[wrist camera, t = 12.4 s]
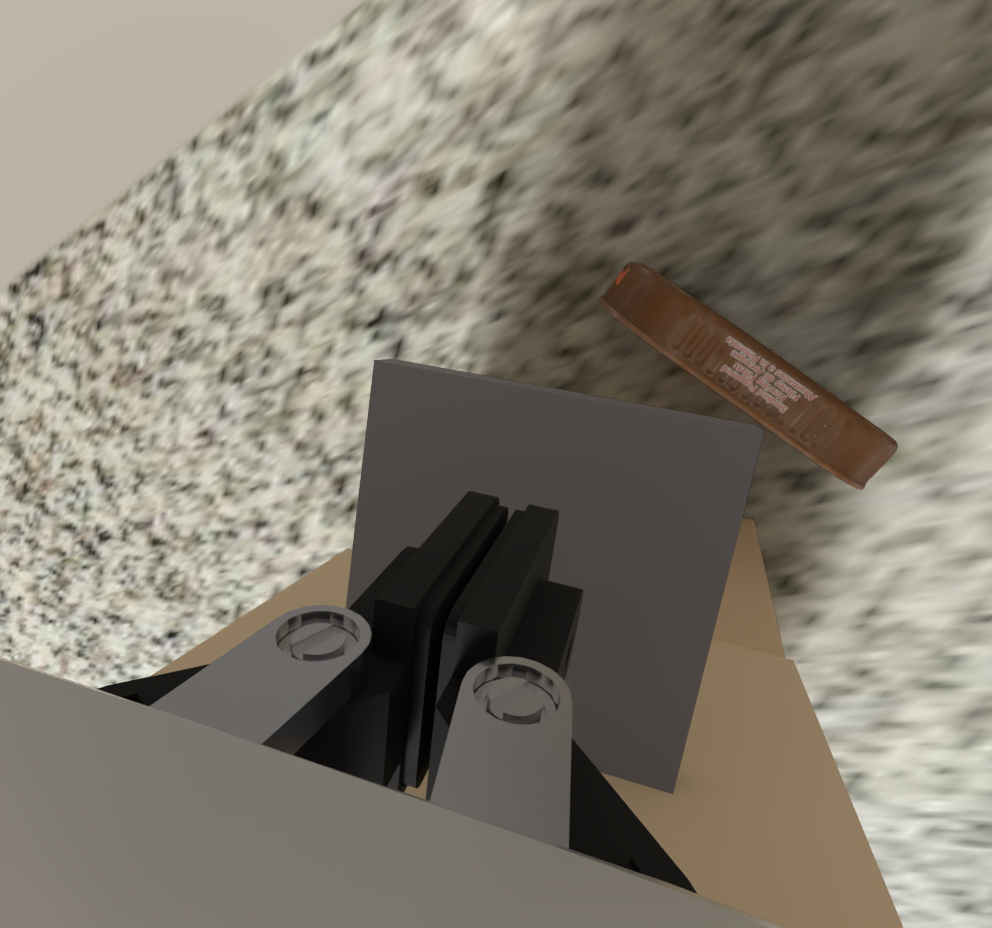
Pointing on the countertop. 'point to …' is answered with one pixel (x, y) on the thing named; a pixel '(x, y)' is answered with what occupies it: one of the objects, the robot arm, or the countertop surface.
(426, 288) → the countertop surface
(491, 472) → the lid
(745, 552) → the carton
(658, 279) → the tin
